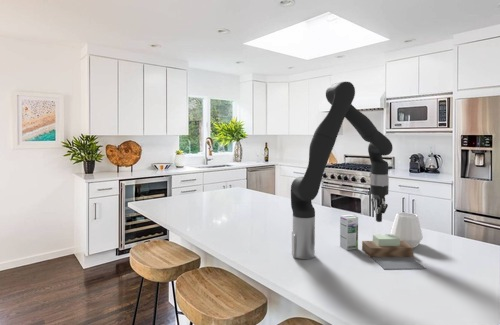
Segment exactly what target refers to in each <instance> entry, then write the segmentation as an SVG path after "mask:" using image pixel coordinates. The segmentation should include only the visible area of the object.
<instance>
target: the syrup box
mask: <svg viewBox="0 0 500 325" xmlns="http://www.w3.org/2000/svg"><path fill="white" fill-rule="evenodd" d="M339 246H340V247H341V248H342V249H343V250H346V251H349V250H358V248H359V217H358V216H356V215H354V214H343V215H340V216H339Z"/></svg>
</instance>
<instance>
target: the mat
mask: <svg viewBox="0 0 500 325" xmlns="http://www.w3.org/2000/svg"><path fill="white" fill-rule="evenodd" d="M372 259H373V260H374V261H375V262H376V263H377V264H378V265H379V266H380V267H381V268H382V269H383V270H427V267H426V266H425V265H423V264H421V263H420V262H418V261H417V260H416V259H415V258H414V257H373V258H372Z"/></svg>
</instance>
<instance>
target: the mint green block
mask: <svg viewBox="0 0 500 325" xmlns="http://www.w3.org/2000/svg"><path fill="white" fill-rule="evenodd" d="M372 241H373V242H374V243H375V244H377V245H378V246H400V239H399V238H398V237H396V236H395V235H394V234H391V233H389V234H372Z"/></svg>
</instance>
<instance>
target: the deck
mask: <svg viewBox="0 0 500 325" xmlns="http://www.w3.org/2000/svg"><path fill="white" fill-rule="evenodd" d="M414 248H415V247H411V246H410V245H409V244H407V243H406V242H404V241H400V246H378V245H377V244H375V243H374V242H373V240H362V242H361V250H362V251H363V253H365V254H366V256H368V257H369V258H371V259H373V257H412V258H414Z"/></svg>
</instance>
